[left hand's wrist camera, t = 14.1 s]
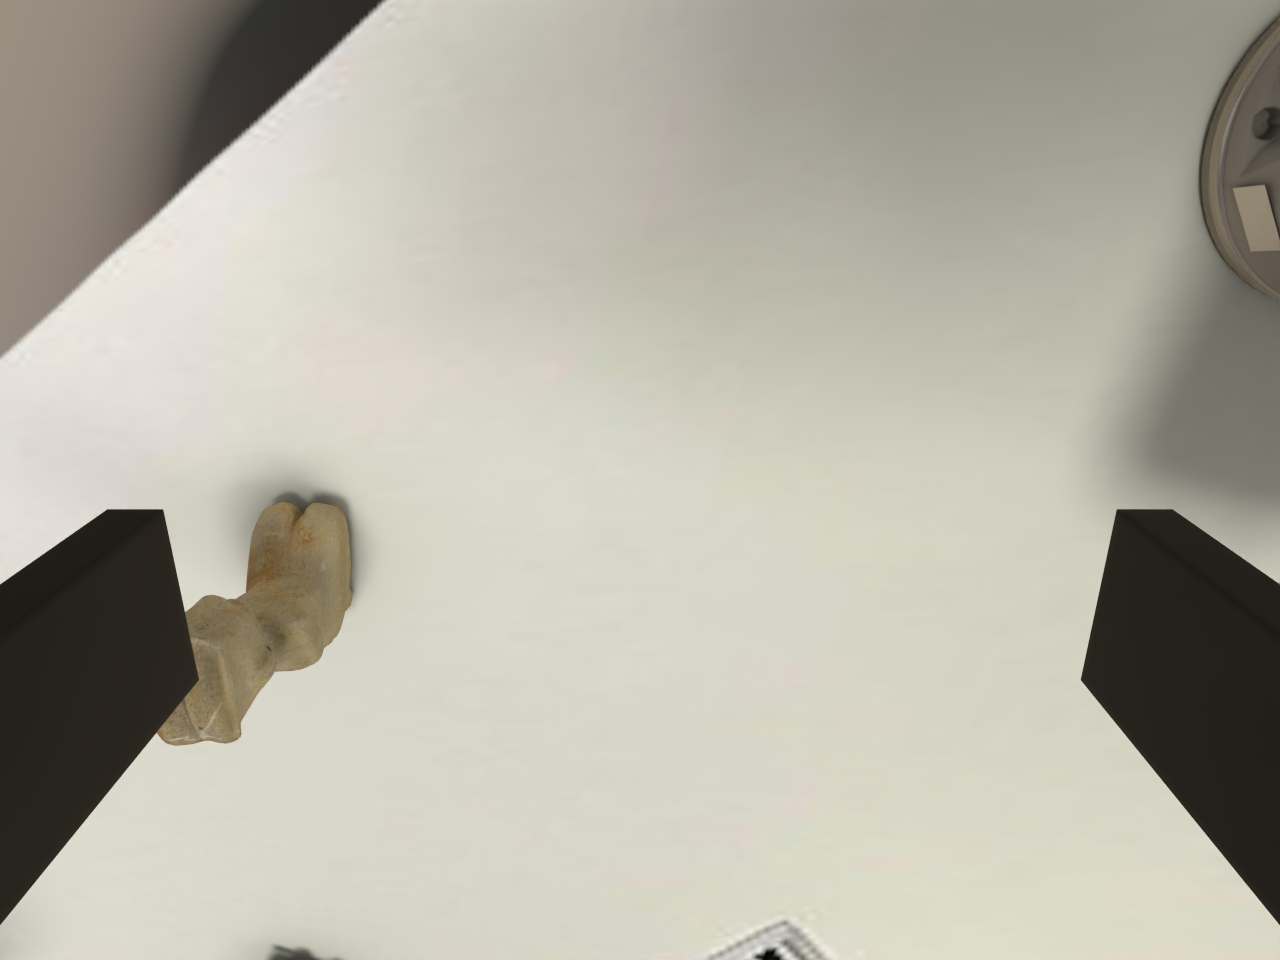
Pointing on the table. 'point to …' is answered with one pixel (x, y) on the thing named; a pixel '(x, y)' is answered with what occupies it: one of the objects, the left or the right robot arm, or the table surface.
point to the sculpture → (265, 619)
